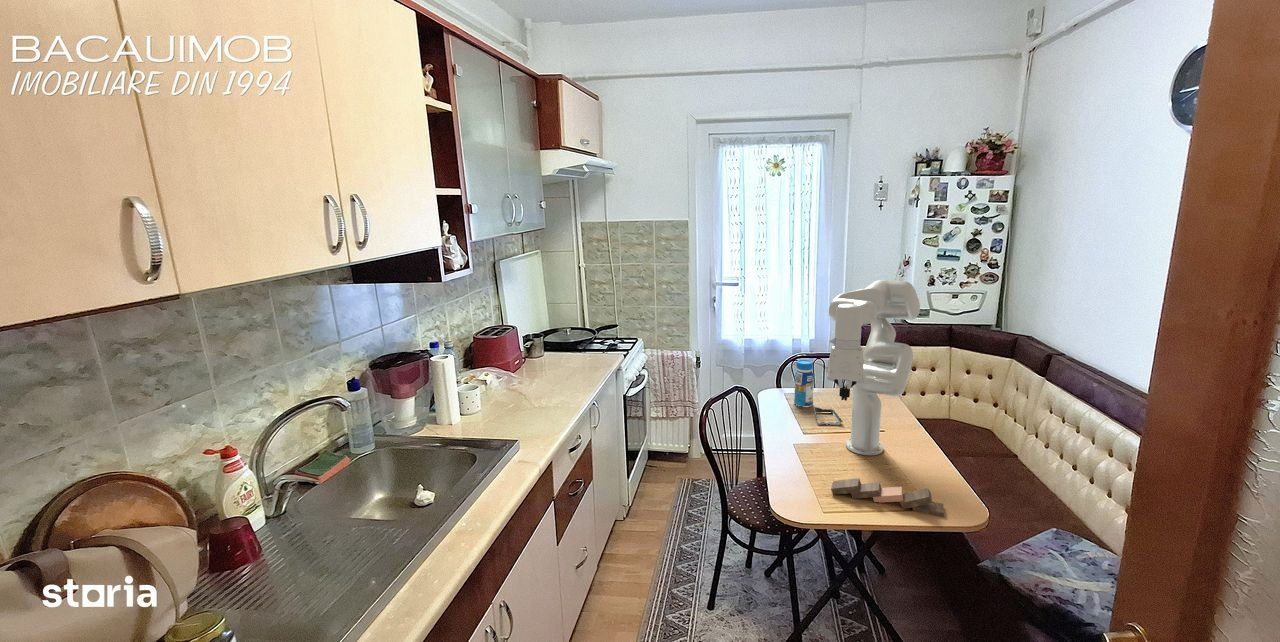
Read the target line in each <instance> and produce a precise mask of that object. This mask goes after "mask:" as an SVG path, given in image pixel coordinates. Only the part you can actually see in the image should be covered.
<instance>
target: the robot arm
mask: <svg viewBox="0 0 1280 642" xmlns="http://www.w3.org/2000/svg"><path fill="white" fill-rule="evenodd" d="M916 291H917V290H916V289H915V287H914V286H913V284H912V283H911V282H909V281H907V280H895V279H894V280H893V279H878V280H876V281H874V282H872V283H871V284H869V285H868V286H867V287H866V288H860V289H857V290H852V291H847V292H846V291H845V292H843V293H840V294H838V295H836V297H834V298H833V299H832V300H831V302H830V303H829V307H828V315H829V318H830V319H832V320H833V321H835V327H834V328H835V329H834V337H833V338H830V339H829V344H833V346H831V348H830V353H829V359H828V369H827V371H828V372H827V374H828V375H827V380H828V381H831V382H833V383H835V384H836V385H837V386H838V387H839V395H838V396H839V397H841V401H847V400H848V398H850V397H851V388H852V410H851V426H850V427H851V429H850V438H849V439H847V440H846V441H845V447H846V448H847V449H848V450H849V451H850V452H852V453H855V454H857V455H863V456H877V455H880V454H882V453H883V451H884V446H883V445H882V444H881V442H880V432H881V417H882V401H881V399H880V396H879V395H884V396H889V397H900V396H901V395H902V394H904V392H905V389H906V387H907V383H908V378H909V376H910V371H911V369H912V365H913V360H914V352H913V348H912V347H911V346H910V345H909V344H906V343H903V342H902V343H901V342H895V340H896V336H897V332H896V329H895V327H893V325H892V324H891V322H890V321H889V320H888V319H893V320H894V319H896V320H907V321H911V320H912V321H913V320H915V319H916V318H917V317H918V316H919V314H920V311H921V303H920V299H919V296H918V294H917V292H916ZM867 325H870V333H869V337H868V339H867V343H866V346H865V348H864V351H863V348H862V347H861V339H862V326H867ZM865 363H866V364H865ZM844 381H847V384H846V385H845V383H844Z"/></svg>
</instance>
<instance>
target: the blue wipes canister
mask: <svg viewBox="0 0 1280 642" xmlns="http://www.w3.org/2000/svg"><path fill="white" fill-rule="evenodd" d="M813 364H814V362H813V361H812V360H810V359H798V360H797V361H796V369H797V370H796V372H795V374H794V380H793V381H794V382H793V383H794V394H793V395H794V398H793V404H794V403H795V404H796V405H795V404H794V405H795V406H797V405H798V406H797V407H799V406H810V407H812V406H813V405H814V385H815V381H814V379H815V375H814V373H813V371H812V370H813V367H814V365H813ZM811 405H812V406H811Z"/></svg>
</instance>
